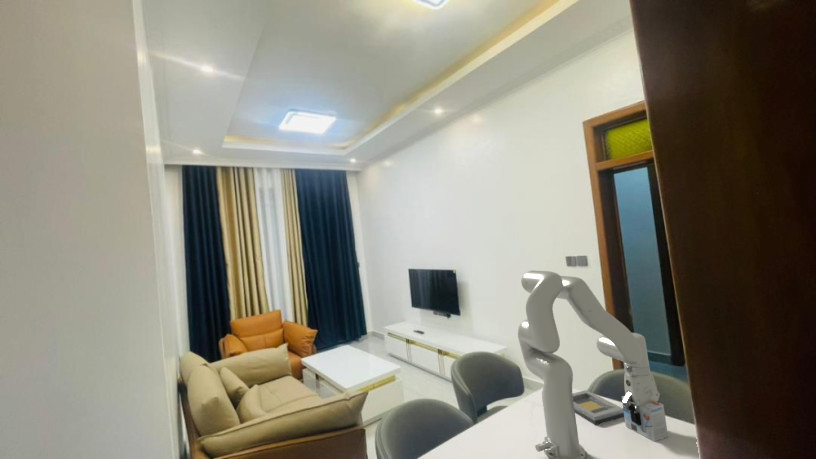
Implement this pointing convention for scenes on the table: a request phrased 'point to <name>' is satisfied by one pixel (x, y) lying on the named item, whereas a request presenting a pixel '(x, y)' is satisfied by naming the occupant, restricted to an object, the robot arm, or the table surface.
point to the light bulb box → (648, 421)
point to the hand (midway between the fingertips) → (644, 420)
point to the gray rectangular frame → (595, 408)
